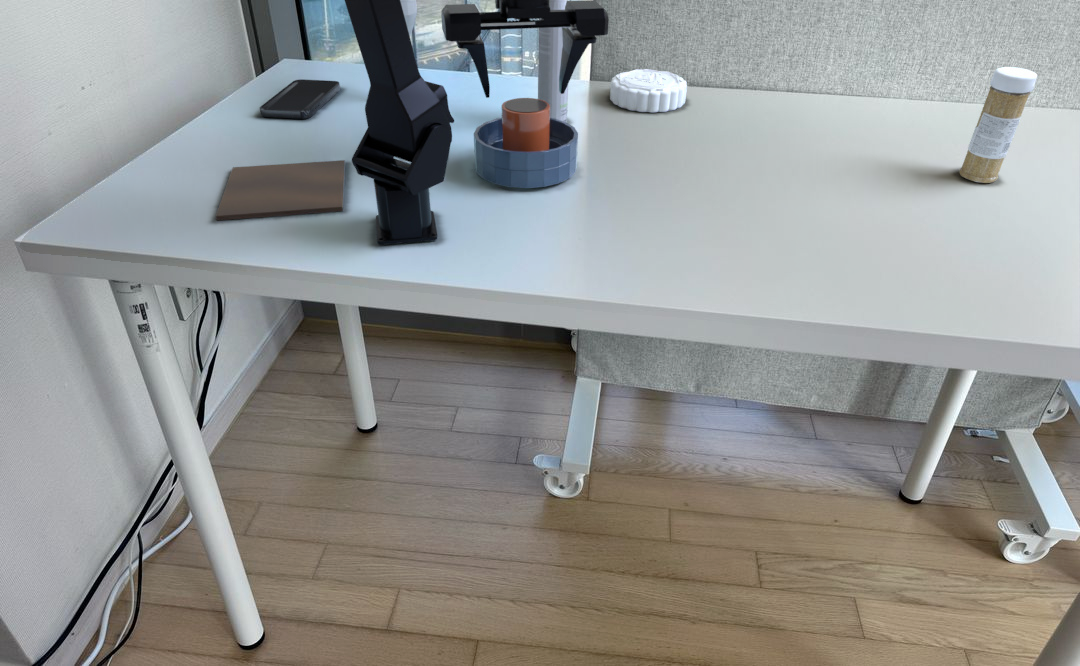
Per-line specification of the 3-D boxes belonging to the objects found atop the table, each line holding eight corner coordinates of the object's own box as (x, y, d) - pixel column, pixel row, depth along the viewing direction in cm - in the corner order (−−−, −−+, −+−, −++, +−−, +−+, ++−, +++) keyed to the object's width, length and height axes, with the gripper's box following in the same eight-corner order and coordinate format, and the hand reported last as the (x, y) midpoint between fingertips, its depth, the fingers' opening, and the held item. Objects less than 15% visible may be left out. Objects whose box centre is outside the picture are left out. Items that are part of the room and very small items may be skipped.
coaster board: (343, 211, 87) (342, 206, 87) (216, 220, 85) (215, 216, 85) (345, 164, 98) (344, 159, 98) (233, 171, 96) (232, 167, 96)
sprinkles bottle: (972, 167, 99) (1010, 63, 91) (1004, 180, 96) (1047, 73, 88) (950, 174, 97) (987, 68, 89) (982, 187, 94) (1023, 79, 86)
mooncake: (697, 97, 121) (700, 75, 119) (664, 118, 113) (666, 95, 111) (632, 84, 127) (633, 62, 125) (596, 103, 119) (597, 80, 117)
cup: (553, 174, 95) (554, 111, 90) (506, 177, 94) (505, 114, 89) (544, 156, 100) (545, 95, 95) (499, 159, 99) (498, 98, 94)
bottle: (560, 128, 109) (564, -20, 98) (533, 124, 111) (533, -23, 99) (571, 119, 113) (576, -26, 101) (544, 115, 114) (546, -29, 103)
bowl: (586, 187, 93) (588, 149, 90) (482, 195, 91) (481, 156, 88) (564, 148, 103) (565, 112, 100) (470, 154, 101) (468, 118, 98)
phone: (256, 109, 112) (295, 78, 124) (258, 116, 112) (297, 85, 124) (307, 112, 111) (341, 81, 123) (309, 119, 111) (342, 87, 124)
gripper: (588, -60, 90) (583, 71, 99) (433, -57, 87) (442, 78, 96) (613, -45, 81) (605, 98, 90) (441, -41, 78) (450, 107, 87)
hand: (524, 94), depth 91 cm, fingers open, 9 cm apart
